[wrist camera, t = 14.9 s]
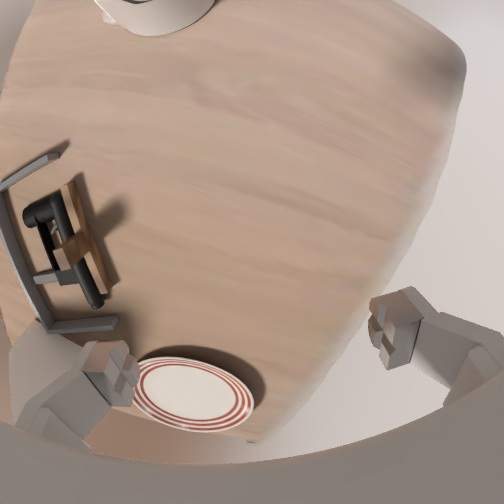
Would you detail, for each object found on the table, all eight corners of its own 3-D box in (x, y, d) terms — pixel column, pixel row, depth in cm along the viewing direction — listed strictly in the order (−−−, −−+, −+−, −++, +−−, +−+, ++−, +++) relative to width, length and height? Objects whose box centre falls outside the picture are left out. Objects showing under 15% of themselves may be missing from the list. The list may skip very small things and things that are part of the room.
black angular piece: (47, 313, 40) (106, 309, 39) (6, 216, 32) (61, 190, 31) (55, 303, 43) (114, 298, 42) (18, 210, 35) (73, 185, 34)
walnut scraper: (67, 184, 33) (34, 198, 26) (76, 179, 33) (43, 193, 25) (105, 286, 41) (84, 316, 33) (114, 284, 41) (93, 315, 33)
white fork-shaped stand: (107, 359, 48) (67, 458, 25) (102, 393, 53) (73, 475, 30) (35, 318, 43) (-22, 398, 20) (39, 358, 49) (-2, 429, 26)
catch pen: (-2, 189, 32) (-13, 193, 29) (58, 152, 31) (46, 154, 28) (54, 325, 44) (47, 334, 41) (119, 319, 43) (113, 329, 40)
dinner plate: (117, 394, 53) (113, 404, 50) (149, 324, 44) (144, 337, 41) (217, 431, 60) (217, 441, 57) (279, 378, 51) (281, 391, 48)
